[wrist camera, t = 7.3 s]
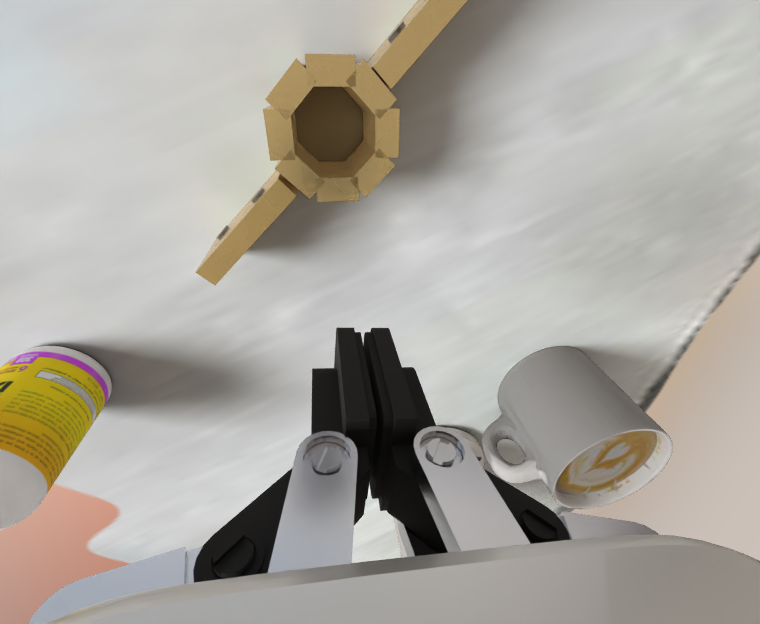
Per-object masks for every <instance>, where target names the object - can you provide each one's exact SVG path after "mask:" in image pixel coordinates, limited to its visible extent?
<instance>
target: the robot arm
mask: <svg viewBox="0 0 760 624" xmlns="http://www.w3.org/2000/svg"><path fill="white" fill-rule="evenodd" d="M484 460H485V457H484V453H483V450H482V448H481V446H480V444H479V442H478V441H477V440H476V439H475V438H474V437H473V436H472V435H470V434H469V433H467V432H464V431H462V430H459V429H454V428H445V427H440V426H436V424H435V422H434V419H433V416H432V414H431V411H430V408H429V406H428V403H427V400H426V398H425V395H424V392H423V390H422V387H421V384H420V382H419V379H418V376H417V374H416V371H415V369H414V368H413V367H405V368H402V367H401V364H400V361H399V358H398V355H397V351H396V348H395V345H394V342H393V339H392V336H391V333H390V330H389V328H372V329H371V332H365V335H364V345H363V342H362V337H361V333H360V332H355V331H354V328H337V329H336V345H335V363H334V368H324V369H312V433H311V435H310V436H309V437H307V438H306V439H305V440H304V441H303V442H302V443H301V444H300V445H299V448H298V450H297V452H296V456H295V461H294V465H293V468H292V469H291V470H289V471H288V472H287V473H286V474H285V475H283V476H282V477H281V478H280V479H279V480H278V481H276V482H275V483H274V484H273V485H272V486H271V487H269V488H268V489H267V490H266V491H265V492H263V493H262V494H261V495H260V496H259V497H258V498H256V499H255V500H254V501H253V502H252V503H251V504H249V505H248V506H247V507H246V508H245V509H243V510H242V511H241V512H240V513H239V514H238V515H236V516H235V517H234V518H233V519H232V520H231V521H229V522H228V523H227V524H226V525H225V526H223V527H222V528H221V529H220V530H219V531H218V532H216V533H215V534H214V535H213V536H212V537H211V538H210V539H209V540H208V541H207V542H206V543H205V544H204V545H203V546H202V547H199V548H196V549H193V550H190V551H186V547H183V548H180V549H177V550H173V551H170V552H167V553H164V554H161V555H157V556H154V557H151V558H148V559H145V560H141V561H138V562H135V563H132V564H129V565H125V566H122V567H119V568H116V569H113V570H109V571H106V572H103V573H100V574H96V575H93V576H90V577H87V578H84V579H81V580H78V581H76V582H74V583H71V584H69V585H67V586H65V587H63V588H61V589H60V590H59V591H57V592H56V593H55V594H54V595H52V596H51V597H50V598H48V599H47V600H46V601H45V602H44V603H43V605H42V606H41V607H40V608H39V609H38V610H37V612H36V613H35V614H34V615H33V616H32V618H31V620H30V623H29V624H760V561H759V560H756V559H754V558H752V557H750V556H747V555H745V554H743V553H740V552H737V551H735V550H732V549H729V548H726V547H722V546H719V545H715V544H712V543H709V542H705V541H701V540H696V539H690V538H684V537H678V536H669V535H659V534H658V533H657V532H655V531H654V530H652V529H650V528H648V527H647V526H645V525H642V524H639V523H635V522H630V521H623V520H617V519H610V518H603V517H596V516H590V515H583V514H576V513H570V512H563V511H562V512H561V514H560V515H556V514H555V513H554V512H553V511H551V510H550V509H549V508H547V507H546V506H545V505H543V504H541V503H540V502H538V501H536V500H535V499H533V498H531V497H530V496H528V495H526V494H525V493H523V492H521V491H520V490H518V489H516V488H515V487H513V486H511V485H510V484H508V483H506V482H505V481H503V480H501V479H500V478H498V477H496V476H495V475H493V474H491V473H490V472H488V471H486V470H485V469H483V467H484ZM369 482H370V489H371V496H372V498H373V499H375V498H379V505H380V511H383V510H387V512H388V513H389V514H391V515H392V516H393V517H394V522H395V528H396V533H397V538H398V543H399V548H400V553H401V558H395V559H386V560H377V561H368V562H360V563H352V546H353V529H354V525H355V524H356V523H357V522H358V520H359V519H360V518H361V517H362V516H363V514H364V508H365V500H366V499H367V495H368V488H369Z"/></svg>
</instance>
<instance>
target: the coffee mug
mask: <svg viewBox="0 0 760 624" xmlns="http://www.w3.org/2000/svg"><path fill="white" fill-rule="evenodd" d="M498 404H499V406H500V409H501V410H502V415H501V417H499V418H498V419H497V420H496V421H495V422H493V423H492V424H491V425H490V426H489V427H488V428H487V429H486V430H485V432H484V434H483V438H482V445H483V451H484V454H485V457H486V459H487V461H488V463H489V465H490V467H491V468H492V470H493V471H494V472H495V473H496V474H497V475H498V476H499V477H500V478H501V479H503V480H505V481H506V482H509V483H524V482H528V481H532V480H536V479H540V480H543V481H544V483H545V485H546V486H547V488H548V490H549V491H550V493H551V495H552V496H553V498H554V499H555V500H556V501H557V502H558V503H559V504H560V505H562V506H565V507H568V508H572V509H589V508H594V507H600V506H603V505H607V504H610V503H613V502H615V501H618V500H620V499H623V498H625V497H627V496H629V495H631V494H633V493H634V492H636V491H637V490H639V489H641V488H642V487H644V486H645V485H646V484H648V483H649V482H650V481H652V480H653V479H654V478H655V477H656V476H657V475H658V474H659V473H660V472H661V471H662V470H663V468H664V467H665V465H666V464H667V463H668V461H669V459H670V457H671V454H672V450H673V445H672V440H671V438H670V437H669V436H668V435H667V433H666V432H665V431H664V430H663V429H662V428H661V427H660V426H659V425H658V424H657V423H656V422H655V421H654V420H653V419H652V418H650V417H649V416H648V415H647V414H646V413H645V412H644V411H643V410H642V409H641V408H640V407H639V406H638V405H637V404H636V403H635V402H634V401H633V400H632V399H631V398H630V397H629V396H628V395H627V394H626V393H625V392H624V391H623V390H622V389H621V388H620V387H619V386H617V385H616V384H615V383H614V382H613V381H612V380H611V379H610V378H609V377H608V376H607V375H606V374H605V373H604V372H603V371H602V370H601V369H600V368H599V367H598V366H597V365H596V364H595V363H594V362H593V361H592V360H591V359H590V358H589V357H588V356H587V355H586V354H584V353H583V352H582V351H580V350H578V349H576V348H573V347H566V346H557V347H551V348H546V349H543V350H540V351H538V352H535V353H533V354H531V355H529V356H528V357H526V358H524V359H523V360H521V361H520V362H519V363H517V364H516V365H515V366H514V367H513V368H512V369H511V370H510V371H509V372H508V373H507V375H506V376H505V378H504V379H503V381H502V383H501V385H500V387H499V391H498ZM502 439H510V440H512V441H514V442H515V443H517V444H518V445H519V447H520V448H521V449H522V450H523V452H524V454H525V456H526V458H525V460H524V461H523V462H522V463H521V464H516V465H514V464H510V463H508V462H507V461H505V460H504V459H503V458H502V457H501V456H500V454H499V452H498V450H497V443H498V442H499V440H502Z"/></svg>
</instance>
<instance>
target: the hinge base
mask: <svg viewBox="0 0 760 624" xmlns="http://www.w3.org/2000/svg"><path fill="white" fill-rule="evenodd" d="M466 2H467V0H418V2H417V3H416V4H415V5H414V6H413V8H412V9H411V10H410V11H409V13H408V14H407V15H406V16H405V17H404V19H403V20H402V21H401V22H400V24H399V25H398V26H397V27H396V28H395V30H394V31H393V32H392V33H391V35H390V36H389V37H388V38H387V39H386V41H385V42H384V43H383V44H382V46H381V47H380V48H379V49H378V50H377V52H376V53H375V54H374V55H373V57H372V58H371V59H370V60H369V61H368V63H366V61H365V60H362V61H360V62H358V63H356V64H355V55H332V54H305V61H306V68H305V67H304V66H303V65H302V64H301V63H300V62H299V61H298V60H297V58H296V59H295V61H294V62H293V63H292V65H291V66H290V67H289V69H288V70H287V71H286V73H285V74H284V75H283V77H282V78H281V79H280V81H279V82H278V83H277V85H276V86H275V87H274V89H273V90H272V91H271V93H270V94H269V95H268V97H267V98H266V99H265V100H266V101H267V102H268V103H270V104H271V106H269V107H267V108H264V109H263V112H264V119H265V126H266V133H267V140H268V147H269V154H270V160H278V163H277V165H276V167H275V169H276V170H277V171H278V172H279V173H280V174H281V175H283V176H284V177H285V178H286V179H287V180H288V181H289V182H291V183H292V184H293V185H294V186H295V187H296V188H297V189H298V190H300V191H301V192H302V193H303V194H304V195H305V196H306V197H308V198H309V199H310V198H311V197H312V196H313V195H314V194H315V193H316V192H317V202H334V201H359V191H360V192H361V193H362V194H363V195H364V196H365V197H367V196H368V195H369V193H370V192H371V191H372V190H373V189H374V188H375V187H376V186H377V185H378V184H379V183H380V182H381V181H382V179H383V178H384V177H385V176H386V175H387V174H388V173H389V172H390V171H391V170H392V169H393V168H394V167H395V165H394V164H393V163H392V162H391V161H390V159H389V158H398V157H399V123H400V109H399V108H395V107H391V106H392V105H393V103H394V102H395V101H396V100H397V99H396V98H395V97H394V95H393V94H392V93H391V92H390V91H389V89H392V88H393V86H394V85H395V84H396V83H397V82H398V81H399V79H400V78H401V77H402V76H403V75H404V74H405V72H406V71H407V70H408V69H409V68H410V67H411V66H412V64H413V63H414V62H415V61H416V60H417V59H418V57H419V56H420V55H421V54H422V53H423V52H424V50H425V49H426V48H427V47H428V46H429V45H430V43H431V42H432V41H433V40H434V39H435V38H436V36H437V35H438V34H439V33H440V32H441V31H442V29H443V28H444V27H445V26H446V25H447V24H448V22H449V21H450V20H451V19H452V18H453V17H454V16H455V14H456V13H457V12H458V11H459V10H460V9H461V7H462V6H463V5H464V4H465V3H466ZM313 87H343V88H344V89H345V91H346V92H347V93H348V94H349V95H350V96H351V97H352V98H353V100H354V101H355V102H356V103H357V104H358V105H359V106H360V107H361V109H362V110H363V141H362V142H361V144H360V145H359V146H358V147H357V148H356V149H355V150H354V152H353V153H352V154H351V155H350V156H349V157H348V158H347V160H346V161H322V162H319V161H318V160H317V159H316V158H315V157H313V156H312V155H311V154H310V153H309V152H308V151H307V150H306V149H305V148H304V147H303V146H302V145H301V144H300V143H299V142H298V140H297V130H296V121H295V109H296V108H297V107H298V106H299V104H300V103H301V102H302V101H303V99H304V98H305V97H306V95H307V94H308V93H309V92H310V90H311V89H312V88H313Z"/></svg>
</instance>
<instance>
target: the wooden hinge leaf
mask: <svg viewBox="0 0 760 624" xmlns="http://www.w3.org/2000/svg"><path fill="white" fill-rule="evenodd" d="M296 196H297V188H296V187H295V186H294V185H293V184H292V183H291V182H289V181H288V180H287V179H286V178H285V177H284V176H283V175H281V174H280V173H279V172H278V171H277V170H276V171H275V173H274V174H273V175H272V176H271V177H270V178H269V180H268V181H267V182H266V183H265V184H264V185H263V186H262V188H261V189H260V190H259V191H258V192H257V193H256V194H255V196H254V197H253V198H252V199H251V200H250V201H249V202H248V204H247V205H246V206H245V207H244V208H243V209H242V211H241V212H240V213H239V214H238V215H237V216H236V217H235V219H234V220H233V221H232V222H231V223H230V224H229V225H228V226H226V227H225V228H224V229H223V230H222V232H221V233H220V234H219V235H218V237H217V239H216V240H215V242H214V244H213V245H212V247H211V248H210V250H209V252H208V253H207V255H206V257H205V258H204V260H203V261H202V263H201V265H200V266H199V268H198V269H197V271H196V273H197V274H199V275H200V276H202V277H203V278H205V279H206V280H208V281H209V282H211V283H212V284H214V285H216V284H217V283H218V282H219V281H220V279H221V278H222V277H223V276H224V275H225V274H226V273H227V272H228V271H229V270H230V268H231V267H232V266H233V265H234V264H235V263H236V262H237V261H238V260H239V259H240V257H241V256H242V255H243V254H244V253H245V252H246V251H247V250H248V249H249V248H250V247H251V245H252V244H253V243H254V242H255V241H256V240H257V239H258V238H259V237H260V236H261V234H262V233H263V232H264V231H265V230H266V229H267V228H268V227H269V226H270V225H271V223H272V222H273V221H274V220H275V219H276V218H277V217H278V216H279V215H280V214H281V213H282V211H283V210H284V209H285V208H286V207H287V206H288V205H289V204H290V203H291V202H292V200H293V199H294V198H295V197H296Z"/></svg>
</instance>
